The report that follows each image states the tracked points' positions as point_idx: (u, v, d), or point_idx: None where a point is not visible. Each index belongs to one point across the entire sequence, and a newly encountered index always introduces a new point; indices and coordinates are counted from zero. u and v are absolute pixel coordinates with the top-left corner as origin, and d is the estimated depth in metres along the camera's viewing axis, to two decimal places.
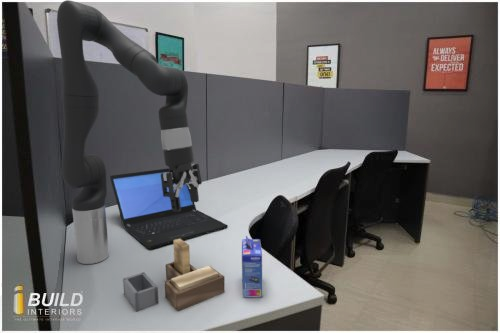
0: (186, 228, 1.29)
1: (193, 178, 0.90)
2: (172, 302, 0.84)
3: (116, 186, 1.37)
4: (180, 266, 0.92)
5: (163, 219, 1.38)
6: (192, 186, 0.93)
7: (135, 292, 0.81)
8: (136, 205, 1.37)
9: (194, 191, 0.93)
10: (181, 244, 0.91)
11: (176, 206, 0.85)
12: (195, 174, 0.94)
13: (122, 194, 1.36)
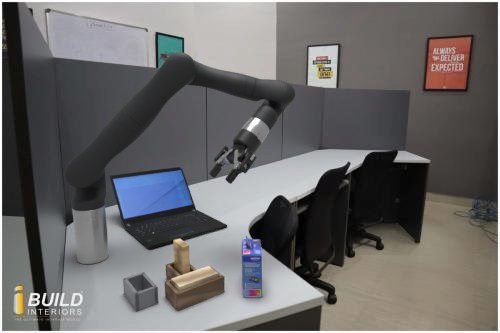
0: (186, 228, 1.30)
1: None
2: (172, 302, 0.84)
3: (116, 186, 1.37)
4: (180, 266, 0.92)
5: (163, 219, 1.39)
6: (220, 164, 1.00)
7: (135, 292, 0.81)
8: (136, 205, 1.38)
9: (219, 169, 1.00)
10: (181, 244, 0.91)
11: None
12: None
13: (122, 194, 1.36)
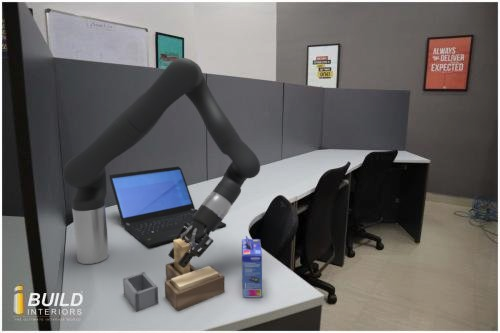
0: None
1: None
2: (172, 302, 0.84)
3: (115, 185, 1.37)
4: (180, 266, 0.91)
5: (162, 218, 1.40)
6: None
7: (135, 292, 0.81)
8: (135, 205, 1.38)
9: None
10: (181, 244, 0.91)
11: None
12: None
13: (121, 193, 1.37)
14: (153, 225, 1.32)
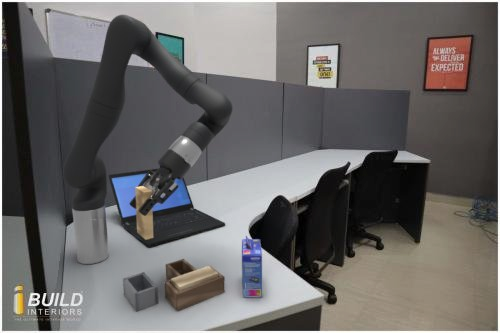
0: (184, 226, 1.31)
1: None
2: (172, 302, 0.84)
3: (115, 185, 1.38)
4: (142, 215, 0.82)
5: (161, 217, 1.40)
6: None
7: (135, 292, 0.81)
8: None
9: None
10: (143, 190, 0.81)
11: None
12: None
13: (120, 193, 1.38)
14: None
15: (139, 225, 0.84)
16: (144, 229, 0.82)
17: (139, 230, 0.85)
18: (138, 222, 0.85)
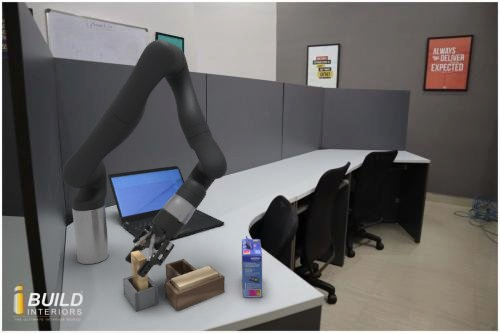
0: None
1: None
2: (172, 302, 0.84)
3: (114, 184, 1.39)
4: (137, 281, 0.84)
5: None
6: (139, 247, 0.88)
7: (135, 292, 0.81)
8: (134, 204, 1.40)
9: None
10: (138, 257, 0.83)
11: None
12: None
13: (120, 192, 1.38)
14: (152, 224, 1.33)
15: (135, 289, 0.86)
16: None
17: None
18: (134, 286, 0.87)
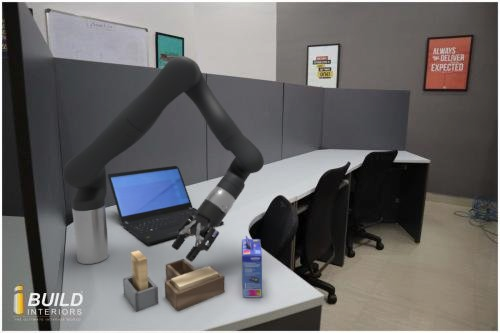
0: None
1: None
2: (172, 302, 0.84)
3: (114, 184, 1.39)
4: (137, 281, 0.84)
5: (160, 216, 1.41)
6: (184, 235, 0.96)
7: (135, 292, 0.81)
8: (134, 203, 1.40)
9: (182, 240, 0.96)
10: (138, 257, 0.83)
11: None
12: None
13: (119, 192, 1.39)
14: (152, 223, 1.34)
15: (135, 289, 0.86)
16: None
17: None
18: (134, 286, 0.87)
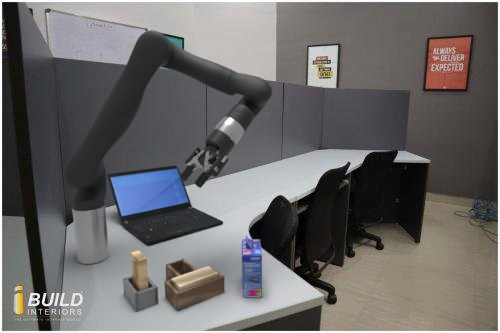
0: (183, 224, 1.33)
1: None
2: (172, 302, 0.84)
3: (113, 184, 1.39)
4: (137, 281, 0.84)
5: (160, 216, 1.42)
6: (191, 166, 0.94)
7: (135, 292, 0.81)
8: (133, 203, 1.40)
9: (190, 171, 0.94)
10: (138, 257, 0.83)
11: None
12: (196, 158, 0.96)
13: (119, 192, 1.39)
14: (151, 223, 1.34)
15: (135, 289, 0.86)
16: None
17: None
18: (134, 286, 0.87)
